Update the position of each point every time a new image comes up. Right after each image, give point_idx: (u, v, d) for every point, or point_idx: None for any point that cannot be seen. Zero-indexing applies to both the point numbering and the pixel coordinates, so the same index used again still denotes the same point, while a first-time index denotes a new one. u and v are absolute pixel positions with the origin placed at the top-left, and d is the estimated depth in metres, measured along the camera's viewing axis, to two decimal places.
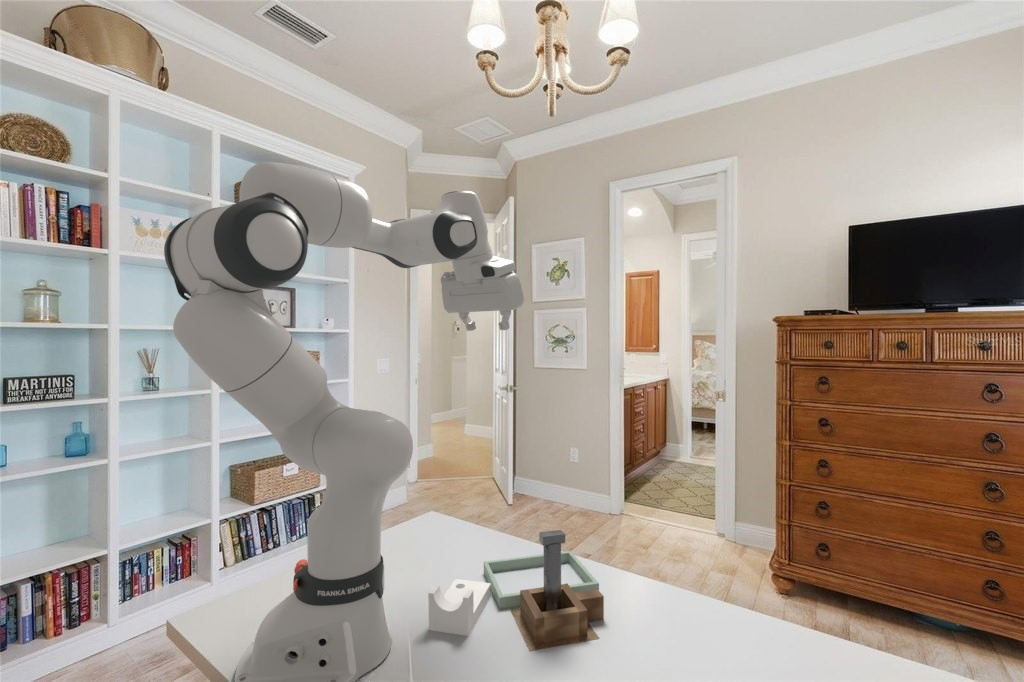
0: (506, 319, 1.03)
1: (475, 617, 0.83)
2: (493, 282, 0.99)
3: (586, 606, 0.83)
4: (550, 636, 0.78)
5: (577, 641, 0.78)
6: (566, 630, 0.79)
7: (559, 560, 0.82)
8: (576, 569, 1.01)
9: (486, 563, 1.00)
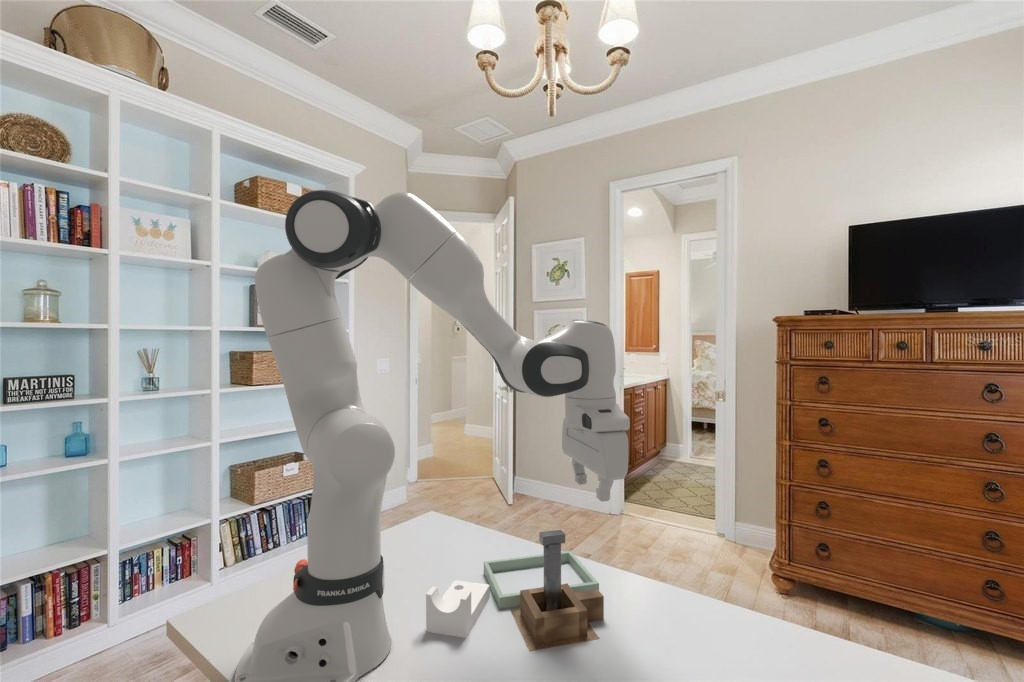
0: (605, 488, 0.79)
1: (473, 618, 0.82)
2: (592, 437, 0.78)
3: (586, 606, 0.83)
4: (550, 636, 0.78)
5: (577, 641, 0.78)
6: (566, 630, 0.79)
7: (559, 560, 0.82)
8: (576, 569, 1.01)
9: (486, 563, 1.00)
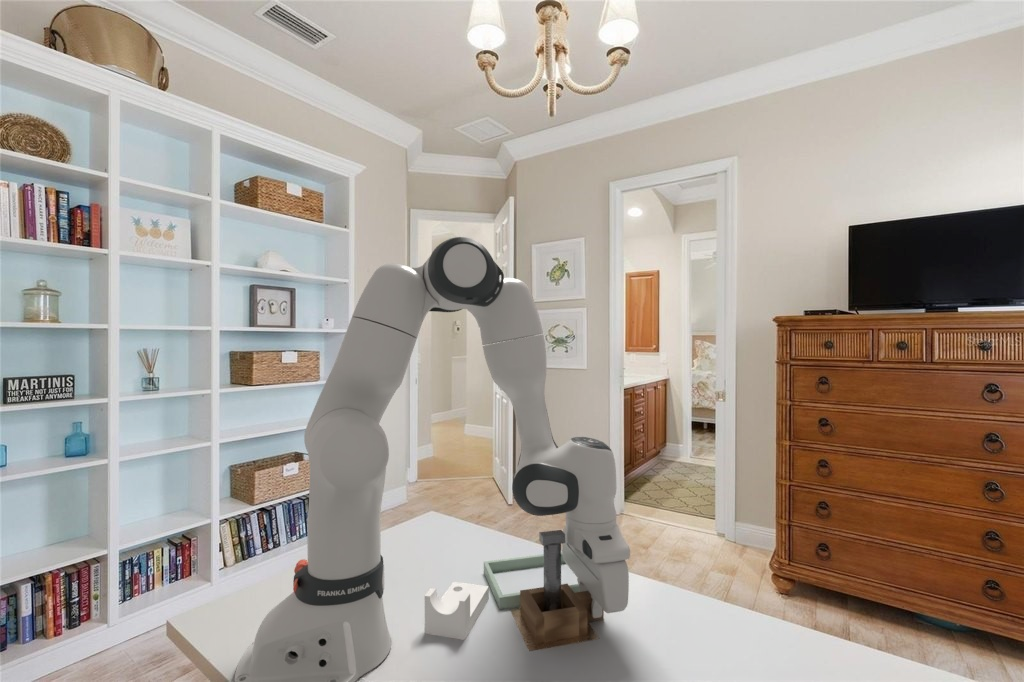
0: (598, 606, 0.82)
1: (472, 620, 0.82)
2: (592, 565, 0.78)
3: (586, 606, 0.83)
4: (550, 636, 0.78)
5: (577, 641, 0.78)
6: (566, 630, 0.79)
7: (559, 560, 0.82)
8: None
9: (486, 563, 1.00)
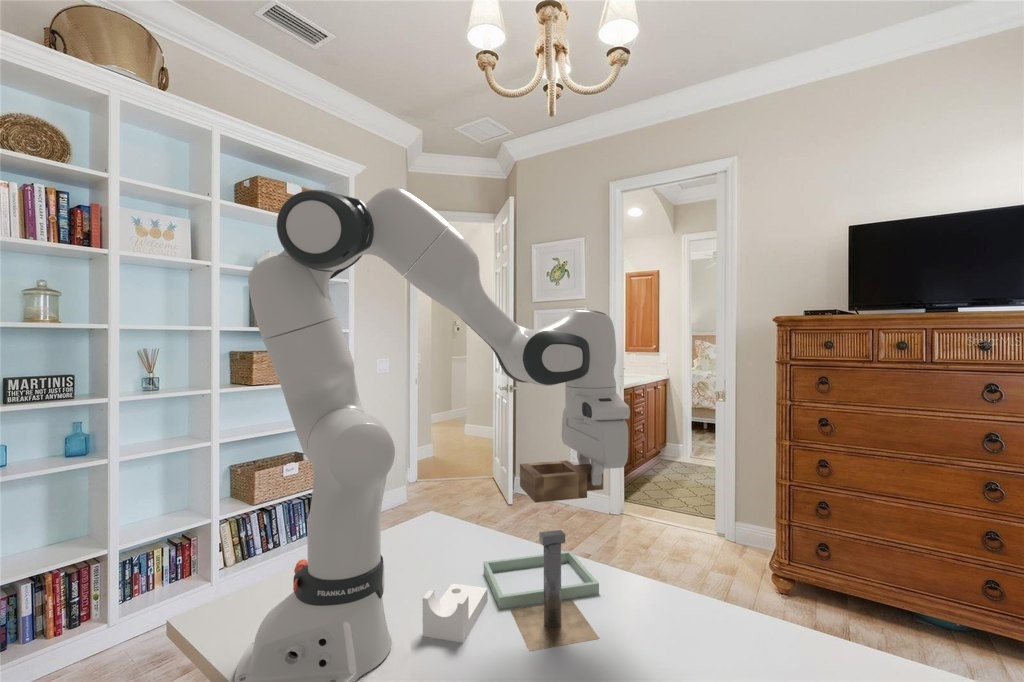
0: (597, 472, 0.81)
1: (471, 623, 0.81)
2: (592, 425, 0.78)
3: None
4: (549, 497, 0.78)
5: (577, 641, 0.78)
6: (566, 492, 0.78)
7: (559, 560, 0.82)
8: (576, 569, 1.01)
9: (486, 563, 1.00)
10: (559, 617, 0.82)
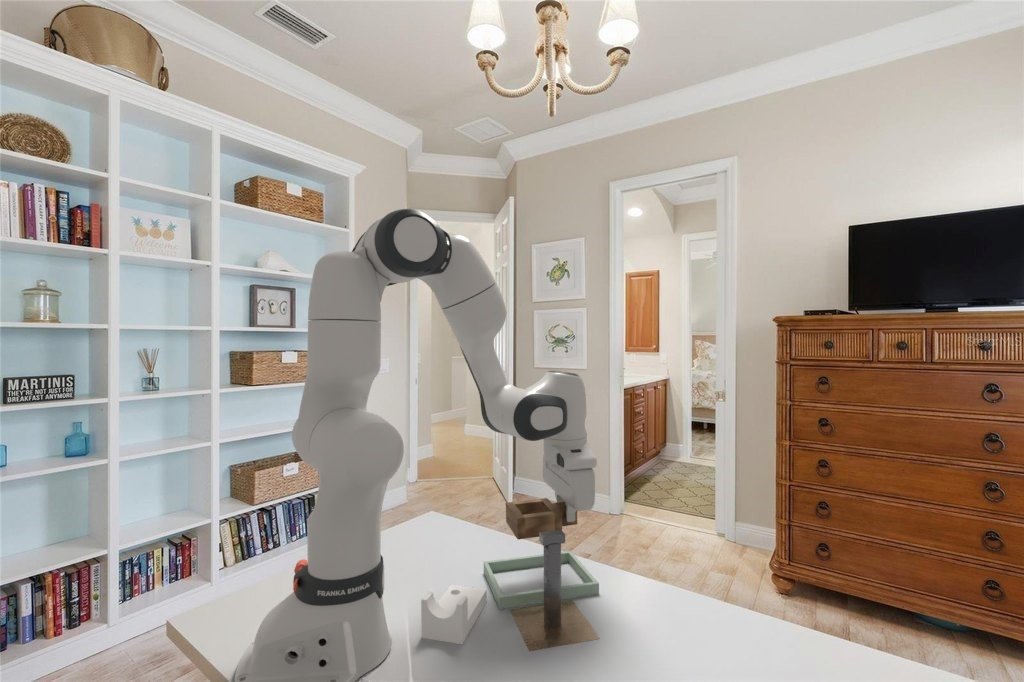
0: (571, 511, 0.95)
1: (470, 624, 0.81)
2: (565, 473, 0.92)
3: (562, 513, 0.97)
4: (530, 534, 0.92)
5: (577, 641, 0.78)
6: (544, 529, 0.92)
7: (559, 560, 0.82)
8: (576, 569, 1.01)
9: (486, 563, 1.00)
10: (559, 617, 0.82)
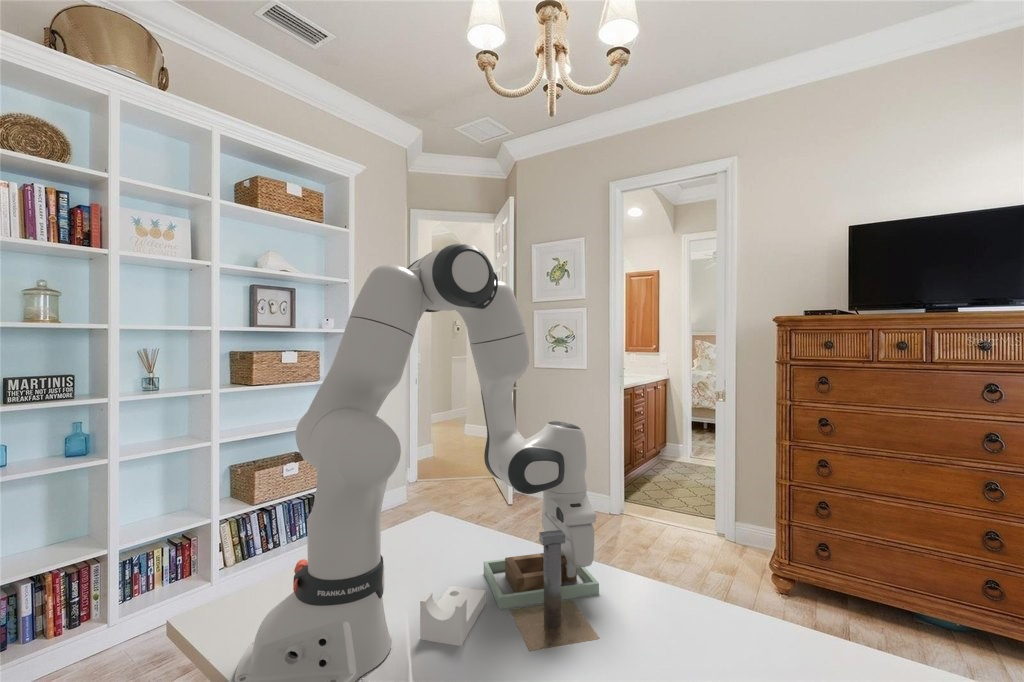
0: (572, 566, 0.94)
1: (469, 626, 0.80)
2: (564, 528, 0.91)
3: (561, 570, 0.97)
4: None
5: (577, 641, 0.78)
6: None
7: (559, 560, 0.82)
8: None
9: (486, 563, 1.00)
10: (559, 617, 0.82)
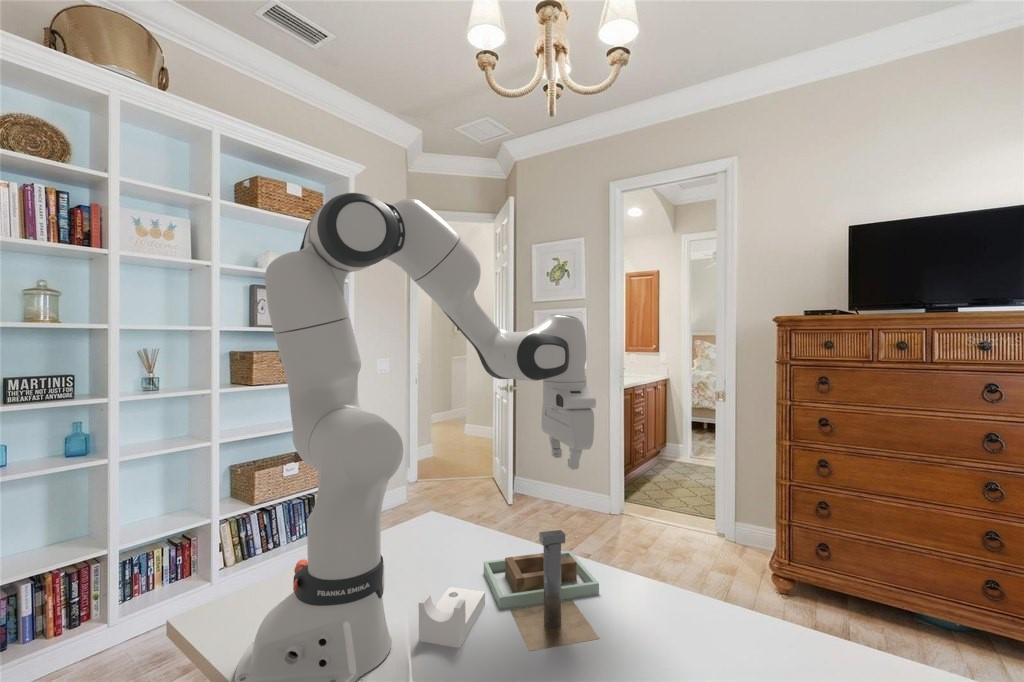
0: (575, 458, 0.92)
1: (468, 627, 0.80)
2: (564, 413, 0.91)
3: (561, 570, 0.97)
4: None
5: (577, 641, 0.78)
6: None
7: (559, 560, 0.82)
8: None
9: (486, 563, 1.00)
10: (559, 617, 0.82)
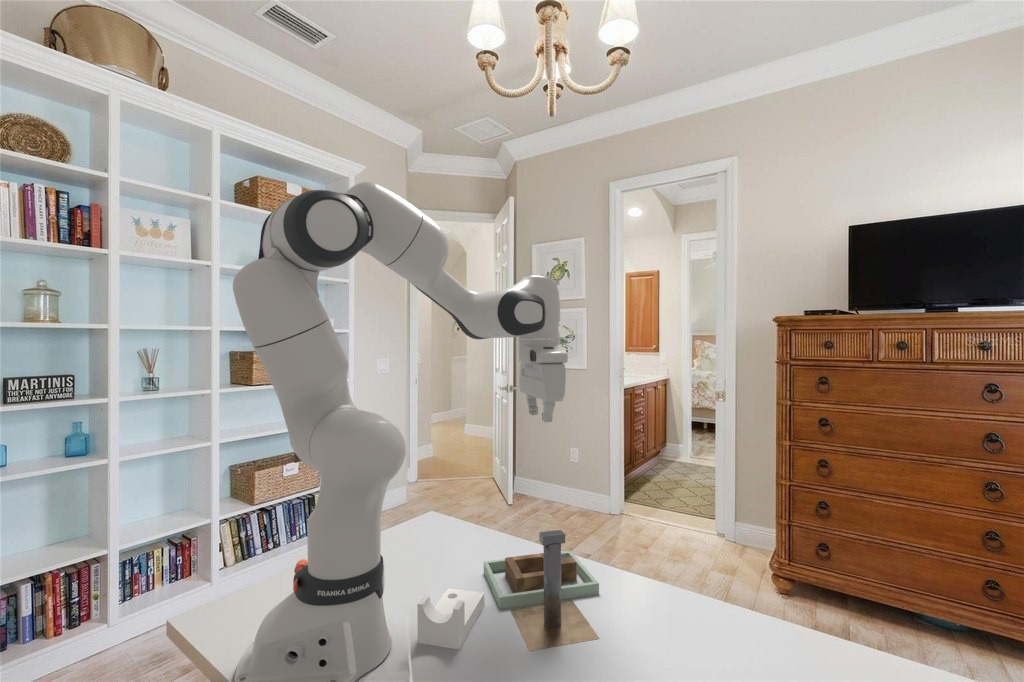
0: (548, 411, 0.96)
1: (467, 629, 0.80)
2: (537, 368, 0.95)
3: (561, 570, 0.97)
4: None
5: (577, 641, 0.78)
6: None
7: (559, 560, 0.82)
8: None
9: (486, 563, 1.00)
10: (559, 617, 0.82)
